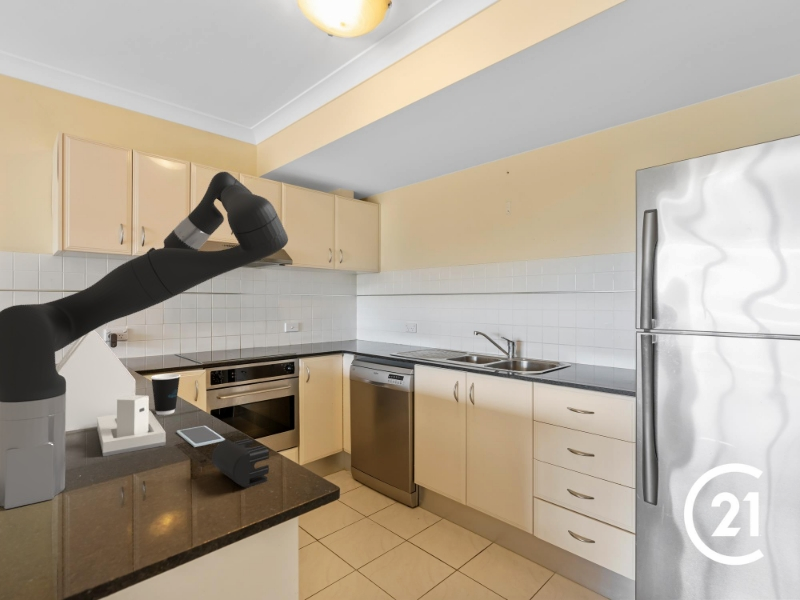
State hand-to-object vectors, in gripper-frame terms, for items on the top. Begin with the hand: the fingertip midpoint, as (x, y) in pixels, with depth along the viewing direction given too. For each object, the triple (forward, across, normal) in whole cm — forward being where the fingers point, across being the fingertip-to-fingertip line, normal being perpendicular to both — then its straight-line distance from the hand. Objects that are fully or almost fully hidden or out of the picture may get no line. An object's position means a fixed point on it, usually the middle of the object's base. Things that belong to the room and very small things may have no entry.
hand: (146, 281), depth 111 cm
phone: (+15, -4, -40) cm, 43 cm away
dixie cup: (+31, +15, -24) cm, 42 cm away
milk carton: (+42, +4, -14) cm, 44 cm away
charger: (+23, -11, -30) cm, 40 cm away
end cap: (0, -26, -56) cm, 61 cm away
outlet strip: (+27, -6, -28) cm, 39 cm away
